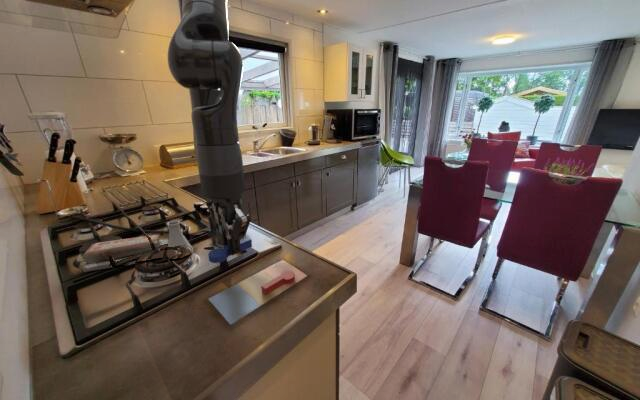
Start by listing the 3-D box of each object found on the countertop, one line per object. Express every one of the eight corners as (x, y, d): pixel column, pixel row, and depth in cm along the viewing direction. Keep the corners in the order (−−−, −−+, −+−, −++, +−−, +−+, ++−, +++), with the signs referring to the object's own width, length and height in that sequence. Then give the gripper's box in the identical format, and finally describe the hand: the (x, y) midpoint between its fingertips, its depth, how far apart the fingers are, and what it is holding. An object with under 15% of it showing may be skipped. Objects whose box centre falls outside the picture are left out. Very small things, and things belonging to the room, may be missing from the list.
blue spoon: (245, 242, 55) (245, 235, 55) (254, 248, 53) (254, 241, 52) (205, 258, 49) (204, 250, 48) (214, 265, 47) (213, 257, 46)
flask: (191, 244, 77) (185, 214, 74) (196, 255, 72) (190, 224, 68) (164, 251, 73) (156, 221, 70) (167, 263, 68) (159, 231, 64)
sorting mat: (230, 327, 49) (230, 324, 49) (208, 300, 56) (208, 298, 55) (307, 277, 64) (307, 275, 63) (282, 261, 70) (282, 259, 70)
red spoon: (268, 297, 56) (267, 291, 55) (259, 290, 58) (258, 283, 58) (297, 279, 62) (297, 273, 61) (288, 273, 64) (288, 267, 64)
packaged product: (76, 257, 62) (93, 238, 70) (83, 274, 64) (98, 253, 72) (160, 244, 68) (166, 228, 77) (164, 259, 70) (169, 241, 78)
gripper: (261, 171, 43) (267, 257, 49) (222, 159, 52) (232, 233, 58) (219, 180, 38) (232, 274, 44) (184, 165, 47) (199, 246, 53)
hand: (232, 251), depth 51 cm, fingers closed on blue spoon, 1 cm apart
